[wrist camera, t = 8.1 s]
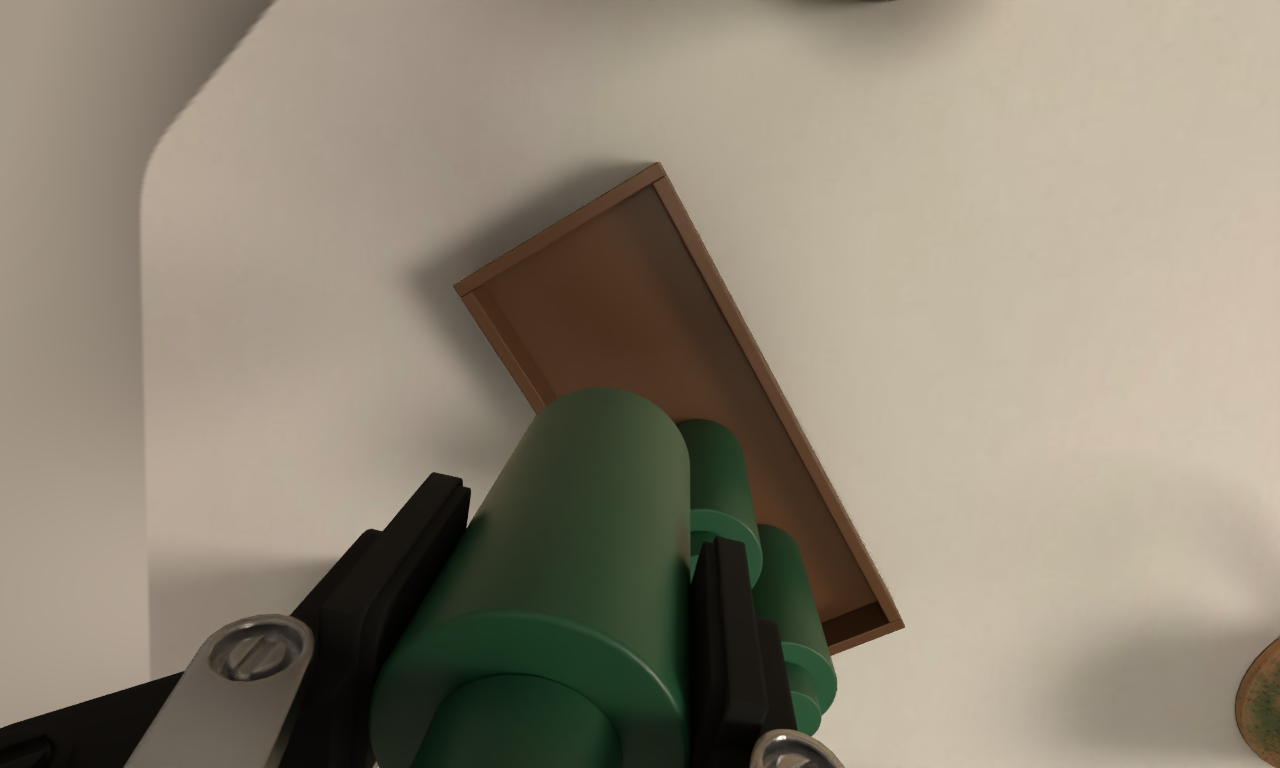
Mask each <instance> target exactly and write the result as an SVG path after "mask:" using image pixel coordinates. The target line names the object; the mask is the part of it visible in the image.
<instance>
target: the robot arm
mask: <svg viewBox="0 0 1280 768" xmlns="http://www.w3.org/2000/svg"><path fill="white" fill-rule="evenodd" d="M470 497H471V489H470V488H468V487H463V480H462V478H458V477H453V476H449V475H444V474H440V473H435V472H433V473H431V474H430V475H429V477H428V478H427V479H426V480H425V481H424V483H423V484H422V485H421V486H420V487H419V489H418V490H417V491H416V492H415V493H414V494H413V496H412V497H411V498H410V499H409V500H408V502H407V503H406V504H405V505H404V506H403V508H402V509H401V510H400V511H399V512H398V514H397V515H396V516H395V517H394V518H393V520H392V521H391V522H390V523H389V524H388V526H387V527H386V528H385V529H384V530H383V531H378V530H374V529H369V530H366V531H365V532H364V533H363V534H362V535H361V536H360V537H359V538H358V539H357V540H356V541H355V543H354V544H353V545H352V546H351V547H350V548H349V549H348V551H347V552H346V553H345V554H344V555H343V556H342V557H341V558H340V560H339V561H338V562H337V563H336V564H335V565H334V566H333V567H332V569H331V570H330V571H329V572H328V573H327V574H326V575H325V576H324V578H323V579H322V580H321V581H320V582H319V583H318V584H317V586H316V587H315V588H314V589H313V590H312V591H311V592H310V593H309V595H308V596H307V597H306V598H305V599H304V600H303V601H302V602H301V604H300V605H299V606H298V607H297V608H296V609H295V610H294V611H293V613H292V614H291V615H290V616H285V615H279V614H267V615H256V616H252V617H248V618H243V619H240V620H238V621H235V622H233V623H231V624H228V625H226V626H224V627H223V628H221V629H220V630H218V631H217V632H215V633H214V634H212V635H211V636H210V637H209V638H208V639H207V640H206V642H205V643H204V644H203V645H202V646H201V647H200V649H199V650H198V652H197V653H196V655H195V656H194V658H193V660H192V661H191V663H190V664H189V666H188V667H187V669H186V670H185V671H183V672H180V673H177V674H173V675H170V676H167V677H164V678H160V679H157V680H154V681H151V682H147V683H145V684H141V685H138V686H134V687H131V688H128V689H125V690H121V691H118V692H115V693H112V694H108V695H105V696H102V697H98V698H95V699H92V700H89V701H85V702H83V703H79V704H76V705H72V706H69V707H66V708H63V709H59V710H56V711H53V712H50V713H46V714H43V715H40V716H37V717H34V718H30V719H27V720H24V721H20V722H17V723H14V724H11V725H8V726H5V727H3V728H0V768H373V766H374V764H375V762H376V759H375V756H374V754H373V750H372V746H371V742H370V739H369V730H368V711H369V700H370V696H371V692H372V688H373V685H374V682H375V680H376V678H377V676H378V674H379V671H380V669H381V668H382V666H383V664H384V663H385V661H386V660H387V658H388V656H389V655H390V653H391V651H392V650H393V648H394V647H395V645H396V643H397V642H398V640H399V638H400V637H401V635H402V633H403V632H404V630H405V629H406V627H407V625H408V624H409V622H410V620H411V619H412V617H413V615H414V614H415V612H416V611H417V609H418V607H419V606H420V604H421V602H422V601H423V599H424V597H425V596H426V594H427V593H428V591H429V589H430V588H431V586H432V584H433V583H434V581H435V579H436V578H437V576H438V575H439V573H440V571H441V570H442V568H443V566H444V565H445V563H446V562H447V560H448V558H449V557H450V555H451V553H452V552H453V550H454V548H455V547H456V545H457V544H458V542H459V540H460V539H461V537H462V535H463V534H464V532H465V530H466V526H467V519H468V512H469V504H470ZM689 768H844V766H843V764H842V763H841V762H840V761H839V759H838V758H837V757H836V756H835V754H834V753H833V752H832V751H831V750H829V749H828V748H827V747H826V746H825V745H823V744H822V743H821V742H820V741H818V740H816V739H814V738H812V737H811V736H809V735H807V734H805V733H802V732H798V728H797V723H796V718H795V713H794V707H793V702H792V697H791V692H790V686H789V681H788V676H787V671H786V665H785V660H784V655H783V650H782V645H781V639H780V634H779V629H778V626H777V622H776V621H775V620H772V619H768V618H763V617H759V616H755V609H754V602H753V595H752V588H751V581H750V574H749V568H748V561H747V554H746V547H745V543H744V542H741V541H736V540H732V539H728V538H723V537H719V536H716V537H715V538H714V540H713V543H711V542H707V541H704V542H703V544H702V547H701V550H700V553H699V557H698V560H697V564H696V567H695V571H694V574H693V578H692V581H691V759H690V767H689Z"/></svg>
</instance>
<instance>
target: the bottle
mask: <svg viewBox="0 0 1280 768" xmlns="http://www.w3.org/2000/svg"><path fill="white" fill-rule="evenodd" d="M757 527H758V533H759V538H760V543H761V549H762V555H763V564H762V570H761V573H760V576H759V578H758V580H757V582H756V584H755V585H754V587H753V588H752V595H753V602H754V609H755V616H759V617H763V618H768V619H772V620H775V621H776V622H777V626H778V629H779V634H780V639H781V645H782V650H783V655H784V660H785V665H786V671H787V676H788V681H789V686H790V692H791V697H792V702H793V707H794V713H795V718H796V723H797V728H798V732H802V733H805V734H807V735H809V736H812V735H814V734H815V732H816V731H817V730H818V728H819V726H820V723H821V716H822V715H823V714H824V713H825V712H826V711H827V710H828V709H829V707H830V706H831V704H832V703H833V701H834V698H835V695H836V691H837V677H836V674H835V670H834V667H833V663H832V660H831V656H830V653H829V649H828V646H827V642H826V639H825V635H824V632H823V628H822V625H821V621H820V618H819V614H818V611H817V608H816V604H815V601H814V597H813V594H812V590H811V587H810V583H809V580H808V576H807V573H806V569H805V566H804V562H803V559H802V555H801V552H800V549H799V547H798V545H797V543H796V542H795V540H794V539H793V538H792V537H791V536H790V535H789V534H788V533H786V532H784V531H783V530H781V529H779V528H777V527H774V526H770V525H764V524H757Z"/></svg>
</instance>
